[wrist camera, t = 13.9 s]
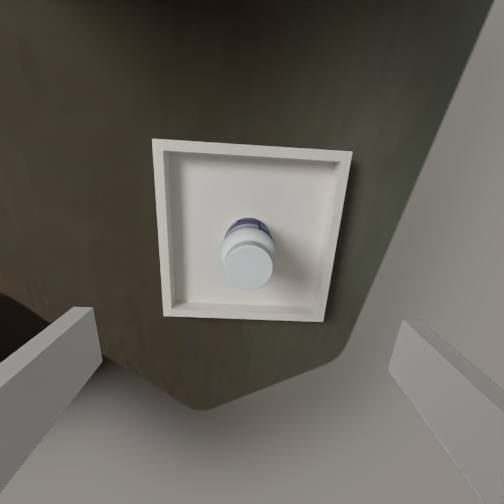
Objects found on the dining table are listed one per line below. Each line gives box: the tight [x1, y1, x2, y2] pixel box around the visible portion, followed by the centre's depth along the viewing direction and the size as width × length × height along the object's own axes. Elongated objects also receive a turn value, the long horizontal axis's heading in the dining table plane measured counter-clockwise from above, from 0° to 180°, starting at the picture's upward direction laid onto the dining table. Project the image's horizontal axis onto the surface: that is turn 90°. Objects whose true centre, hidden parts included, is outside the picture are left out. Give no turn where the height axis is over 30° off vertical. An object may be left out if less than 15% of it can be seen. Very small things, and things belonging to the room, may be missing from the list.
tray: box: [152, 139, 352, 322], centre depth 28 cm, size 20×20×2 cm
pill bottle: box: [220, 217, 277, 290], centre depth 24 cm, size 5×5×10 cm
